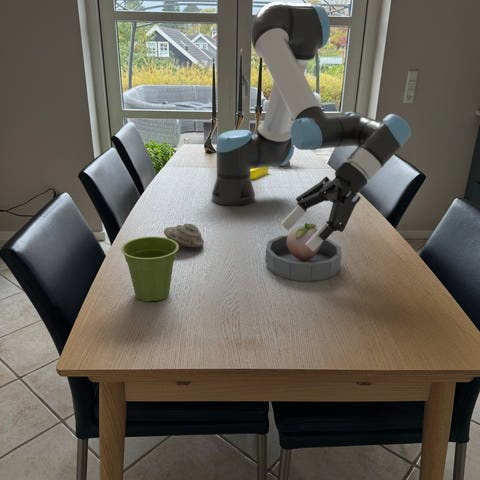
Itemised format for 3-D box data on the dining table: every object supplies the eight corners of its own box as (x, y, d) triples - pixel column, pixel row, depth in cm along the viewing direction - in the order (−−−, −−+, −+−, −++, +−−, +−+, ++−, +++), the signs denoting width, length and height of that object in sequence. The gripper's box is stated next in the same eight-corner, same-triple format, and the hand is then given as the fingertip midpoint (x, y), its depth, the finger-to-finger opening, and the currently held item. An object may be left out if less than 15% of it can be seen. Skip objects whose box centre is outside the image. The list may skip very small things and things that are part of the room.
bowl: (261, 277, 109) (262, 260, 108) (270, 247, 126) (271, 232, 124) (339, 285, 106) (341, 267, 105) (338, 253, 123) (340, 237, 121)
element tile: (269, 173, 200) (270, 162, 198) (251, 181, 188) (251, 169, 186) (240, 168, 207) (240, 158, 205) (221, 176, 195) (220, 164, 193)
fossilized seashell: (172, 244, 117) (173, 217, 119) (156, 250, 126) (157, 225, 128) (209, 248, 123) (210, 223, 124) (191, 255, 132) (192, 230, 133)
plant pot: (171, 311, 95) (168, 261, 91) (116, 305, 97) (111, 255, 93) (187, 284, 106) (185, 238, 102) (137, 279, 108) (133, 234, 103)
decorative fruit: (293, 250, 121) (295, 214, 117) (324, 256, 118) (327, 219, 114) (280, 264, 114) (281, 226, 110) (312, 271, 110) (315, 232, 106)
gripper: (397, 196, 102) (330, 267, 103) (338, 169, 124) (284, 228, 125) (379, 174, 99) (311, 248, 100) (322, 150, 120) (266, 211, 121)
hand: (295, 237), depth 112 cm, fingers open, 13 cm apart
